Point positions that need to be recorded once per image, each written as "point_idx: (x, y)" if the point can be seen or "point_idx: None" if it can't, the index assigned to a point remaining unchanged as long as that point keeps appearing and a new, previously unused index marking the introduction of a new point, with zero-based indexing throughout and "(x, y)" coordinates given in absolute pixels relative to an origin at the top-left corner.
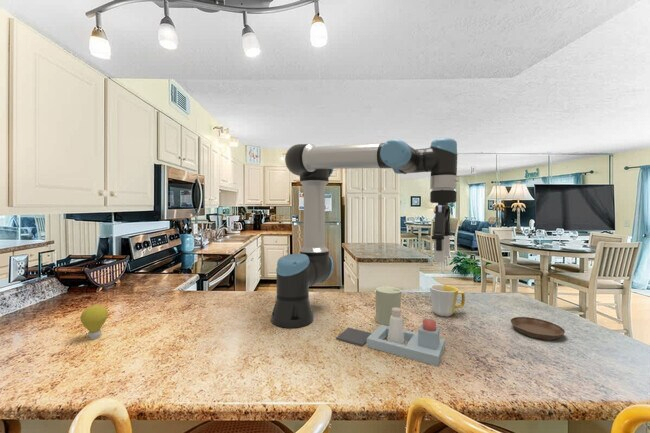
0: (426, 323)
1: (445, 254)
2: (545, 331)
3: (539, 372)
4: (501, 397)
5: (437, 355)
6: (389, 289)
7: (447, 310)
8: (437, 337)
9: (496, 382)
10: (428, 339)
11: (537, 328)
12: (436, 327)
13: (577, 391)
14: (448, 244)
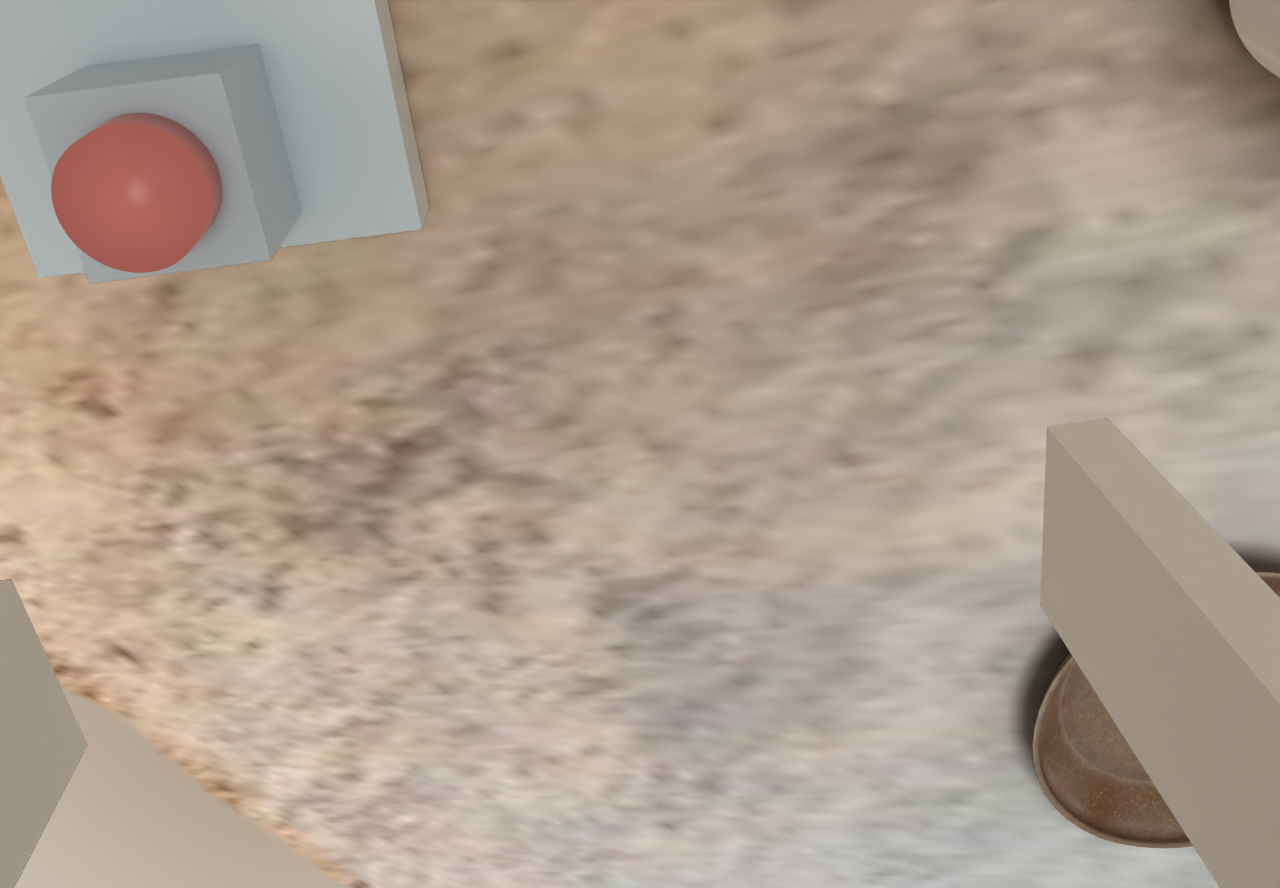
0: (51, 194)
1: (1051, 552)
2: None
3: (498, 729)
4: (36, 616)
5: (50, 267)
6: None
7: (1254, 40)
8: None
9: (179, 578)
10: None
11: None
12: (243, 232)
13: (412, 853)
14: (1171, 798)
